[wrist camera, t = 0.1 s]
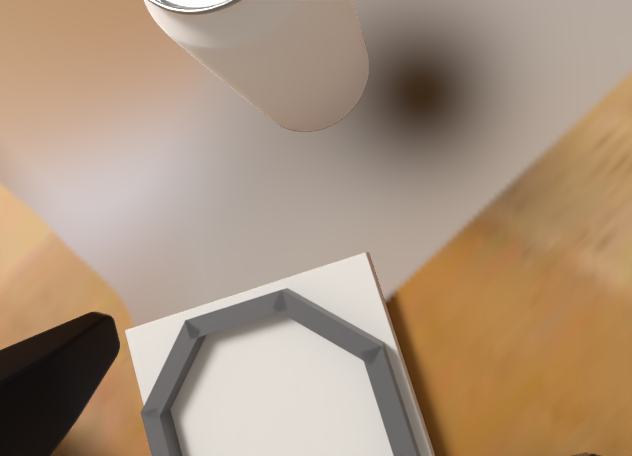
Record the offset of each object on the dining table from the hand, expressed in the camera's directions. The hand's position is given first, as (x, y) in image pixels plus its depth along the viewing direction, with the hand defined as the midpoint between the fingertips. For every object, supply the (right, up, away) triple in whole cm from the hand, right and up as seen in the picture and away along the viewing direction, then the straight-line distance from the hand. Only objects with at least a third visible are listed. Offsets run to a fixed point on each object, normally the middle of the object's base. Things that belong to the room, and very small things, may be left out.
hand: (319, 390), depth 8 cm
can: (0, +11, +16) cm, 20 cm away
